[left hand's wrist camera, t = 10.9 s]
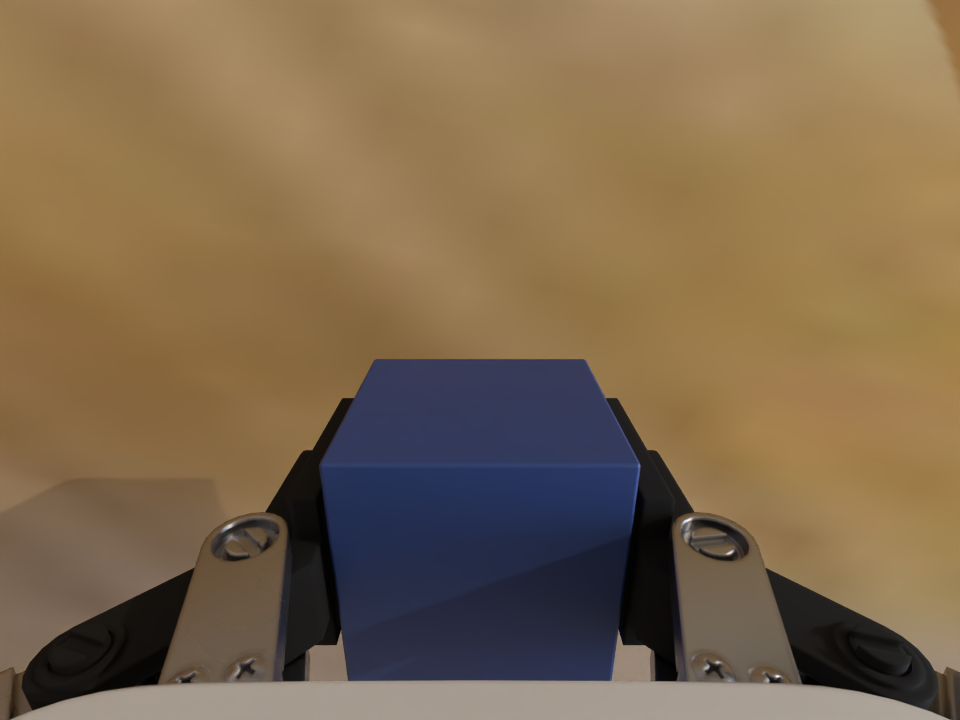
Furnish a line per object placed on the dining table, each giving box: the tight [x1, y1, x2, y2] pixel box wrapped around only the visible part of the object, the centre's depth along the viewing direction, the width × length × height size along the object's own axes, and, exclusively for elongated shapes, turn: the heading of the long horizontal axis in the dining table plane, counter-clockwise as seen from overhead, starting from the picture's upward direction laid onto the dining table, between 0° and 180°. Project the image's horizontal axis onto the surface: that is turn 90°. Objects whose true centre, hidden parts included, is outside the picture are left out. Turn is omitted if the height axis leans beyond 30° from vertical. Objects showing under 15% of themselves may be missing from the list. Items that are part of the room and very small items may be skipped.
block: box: [319, 359, 641, 681], centre depth 11 cm, size 5×5×4 cm
